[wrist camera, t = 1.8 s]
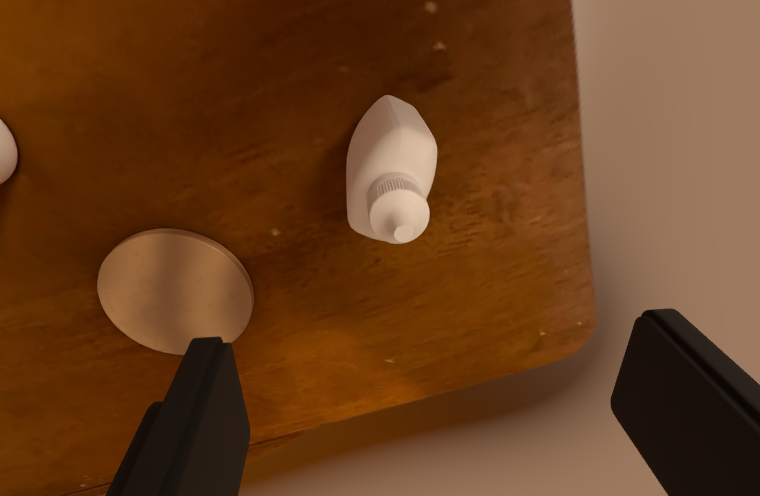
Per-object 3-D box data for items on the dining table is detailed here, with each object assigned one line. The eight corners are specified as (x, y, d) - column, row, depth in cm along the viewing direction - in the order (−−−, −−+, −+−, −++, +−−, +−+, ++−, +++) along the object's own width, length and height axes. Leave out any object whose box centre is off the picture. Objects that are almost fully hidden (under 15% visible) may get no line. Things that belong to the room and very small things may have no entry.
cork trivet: (241, 224, 29) (239, 229, 28) (263, 344, 34) (262, 351, 33) (81, 231, 28) (74, 237, 27) (127, 352, 33) (122, 359, 32)
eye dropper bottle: (320, 141, 26) (304, 233, 16) (398, 82, 25) (437, 140, 15) (364, 196, 28) (375, 310, 18) (438, 143, 27) (498, 234, 17)
